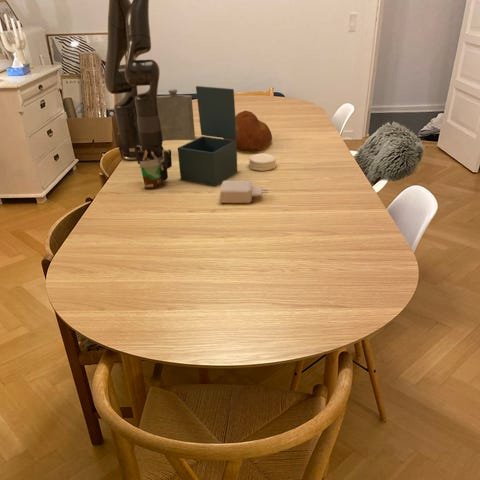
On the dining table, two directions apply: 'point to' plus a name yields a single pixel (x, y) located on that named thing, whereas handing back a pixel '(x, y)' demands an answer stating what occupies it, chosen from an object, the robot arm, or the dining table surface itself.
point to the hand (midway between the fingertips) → (156, 178)
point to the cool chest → (208, 160)
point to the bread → (251, 132)
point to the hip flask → (176, 116)
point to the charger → (239, 191)
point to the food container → (151, 173)
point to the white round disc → (262, 162)
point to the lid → (217, 112)
